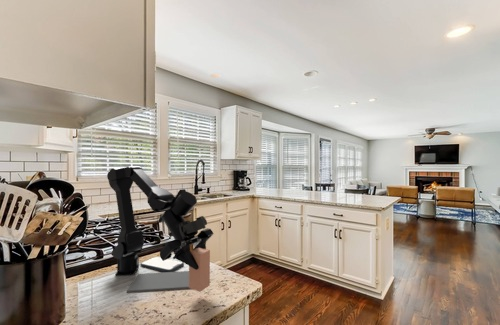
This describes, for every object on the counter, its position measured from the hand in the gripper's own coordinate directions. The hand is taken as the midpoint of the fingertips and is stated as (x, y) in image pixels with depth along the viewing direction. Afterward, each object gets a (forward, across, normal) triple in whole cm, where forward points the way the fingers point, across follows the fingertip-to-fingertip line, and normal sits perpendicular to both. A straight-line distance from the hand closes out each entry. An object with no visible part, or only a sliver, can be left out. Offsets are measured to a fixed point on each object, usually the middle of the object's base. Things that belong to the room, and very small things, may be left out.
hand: (203, 266), depth 76 cm
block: (+4, 0, +6) cm, 7 cm away
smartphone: (-14, +10, +29) cm, 34 cm away
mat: (-6, +2, +20) cm, 21 cm away
